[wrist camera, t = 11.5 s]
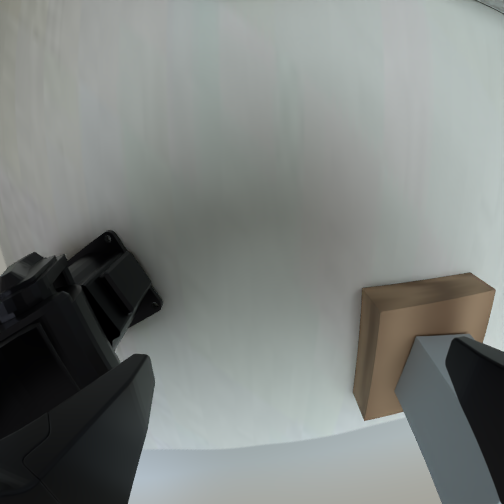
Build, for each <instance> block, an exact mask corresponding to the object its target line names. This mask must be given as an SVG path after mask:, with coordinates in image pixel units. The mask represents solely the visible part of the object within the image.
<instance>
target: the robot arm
mask: <svg viewBox="0 0 504 504" xmlns="http://www.w3.org/2000/svg"><path fill="white" fill-rule="evenodd" d="M107 235H108V236H110V237H111V241H109V240H108V239H107ZM153 302H156V303H157V304H158V306H155V305H153ZM162 306H163V302H162V300H161V298H160V297H159V295H158V294H157V293H156V291H155V290H154V289H153V287H152V286H151V281H150V279H149V278H148V276H147V275H146V274H145V272H144V271H143V269H142V268H141V267H140V265H139V264H138V262H137V261H136V259H135V258H134V256H133V255H132V254H131V253H130V252H128V251H127V250H126V249H125V247H124V246H123V244H122V243H121V241H120V240H119V238H118V237H117V235H116V234H115V233H114V232H113V231H111V230H108V231H106V232H104V233H103V234H102V235H100V236H99V237H98V238H96V239H95V240H94V241H93V242H91V243H90V244H89V245H87V246H86V247H85V248H84V249H82V250H81V251H80V252H78V253H77V254H76V255H75V256H73V257H72V258H71V259H70V260H68V261H67V259H66V257H65V254H63V255H61V256H58V257H56V256H55V255H54V256H51V257H49V258H46V257H45V258H43V257H42V256H40V255H39V254H37V253H36V252H33V253H31V254H29V255H27V256H25V257H23V258H22V259H20V260H18V261H17V262H15V263H14V264H12V265H11V266H9V267H8V268H7V269H6V271H5V272H4V273H3V274H2V275H1V276H0V504H128V500H129V497H130V492H131V489H132V485H133V481H134V477H135V474H136V470H137V466H138V462H139V459H140V455H141V451H142V448H143V444H144V441H145V437H146V433H147V429H148V424H149V417H150V411H151V404H152V398H153V392H154V386H155V378H154V373H153V369H152V364H151V360H150V357H149V356H148V355H146V354H134V355H132V356H131V357H129V358H128V359H126V360H125V361H123V362H122V363H121V362H120V360H119V359H118V357H117V355H116V353H115V349H116V347H117V345H118V344H119V342H120V340H121V339H122V337H123V335H124V334H125V332H126V330H127V329H128V328H129V327H131V326H133V325H135V324H137V323H138V322H140V321H142V320H144V319H145V318H147V317H149V316H151V315H153V314H154V313H156V312H158V311H159V310H161V308H162ZM445 366H446V369H447V371H448V374H449V376H450V379H451V382H452V384H453V387H454V390H455V392H456V395H457V398H458V401H459V403H460V405H461V408H462V410H463V412H464V414H465V416H466V418H467V420H468V423H469V425H470V427H471V429H472V432H473V434H474V436H475V438H476V441H477V443H478V445H479V448H480V450H481V452H482V455H483V457H484V460H485V462H486V465H487V467H488V470H489V472H490V475H491V478H492V480H493V483H494V486H495V488H496V491H497V494H498V497H499V500H500V503H501V504H504V352H503V351H500V350H498V349H496V348H493V347H491V346H488V345H486V344H483V343H481V342H478V341H476V340H473V339H471V338H468V337H466V336H460V337H455V338H453V340H452V341H451V344H450V347H449V350H448V353H447V356H446V359H445Z"/></svg>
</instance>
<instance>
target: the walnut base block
mask: <svg viewBox="0 0 504 504" xmlns="http://www.w3.org/2000/svg"><path fill="white" fill-rule="evenodd" d="M495 291H496V290H495V289H494V288H493V287H491V286H490V285H488V284H487V283H485V282H484V281H482V280H481V279H479V278H478V277H476V276H475V275H473V274H472V273H464V274H458V275H452V276H446V277H439V278H433V279H426V280H420V281H413V282H406V283H398V284H391V285H384V286H376V287H368V288H362V303H361V318H360V331H359V342H358V353H357V362H356V371H355V379H354V387H353V394H354V396H355V399H356V401H357V404H358V406H359V409H360V411H361V414H362V416H363V419H364V421H366V420H371V419H375V418H380V417H384V416H388V415H392V414H396V413H400V412H404V411H403V409H402V407H401V405H400V402H399V400H398V398H397V396H396V394H395V392H394V390H395V388H396V386H397V383H398V381H399V379H400V376H401V374H402V372H403V369H404V367H405V364H406V362H407V359H408V357H409V354H410V352H411V349H412V346H413V344H414V341H415V338H416V336H439V335H456V334H470V335H471V336H472V337H473V338H474V339H475V340H476V341H478V342H481V343H483V340H484V336H485V333H486V329H487V325H488V321H489V317H490V313H491V309H492V305H493V300H494V296H495Z"/></svg>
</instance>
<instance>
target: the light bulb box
mask: <svg viewBox="0 0 504 504" xmlns="http://www.w3.org/2000/svg"><path fill="white" fill-rule="evenodd" d="M477 1H479V2H482V3H484V4H486V5H488V6H490V7H492V8H494V9H496V10H498V11H500V12H502V13H504V0H477Z"/></svg>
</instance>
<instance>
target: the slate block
mask: <svg viewBox="0 0 504 504" xmlns="http://www.w3.org/2000/svg"><path fill="white" fill-rule="evenodd" d="M460 336H466V337H468V338H471V339H473V340H475V339H474V338H473V337H472V336H471V335H470V334H456V335H439V336H416V338H415V341H414V344H413V346H412V349H411V352H410V354H409V357H408V359H407V362H406V364H405V367H404V369H403V372H402V374H401V376H400V379H399V381H398V383H397V386H396V388H395V390H394V392H395V394H396V396H397V398H398V400H399V402H400V405H401V407H402V409H403V411H404V413H405V416H406V418H407V420H408V422H409V425H410V427H411V429H412V431H413V433H414V436H415V438H416V441H417V443H418V445H419V447H420V450H421V452H422V455H423V457H424V459H425V462H426V464H427V467H428V469H429V472H430V474H431V476H432V479H433V482H434V484H435V487H436V489H437V492H438V494H439V497H440V499H441V502H442V504H501V503H500V500H499V497H498V494H497V491H496V488H495V486H494V483H493V480H492V478H491V475H490V472H489V470H488V467H487V465H486V462H485V460H484V457H483V455H482V452H481V450H480V448H479V445H478V443H477V441H476V438H475V436H474V434H473V432H472V429H471V427H470V425H469V423H468V420H467V418H466V416H465V414H464V412H463V410H462V408H461V405H460V403H459V401H458V398H457V395H456V392H455V390H454V387H453V384H452V382H451V379H450V376H449V374H448V371H447V369H446V366H445V359H446V356H447V353H448V350H449V347H450V344H451V341H452V340H453V338H455V337H460Z"/></svg>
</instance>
